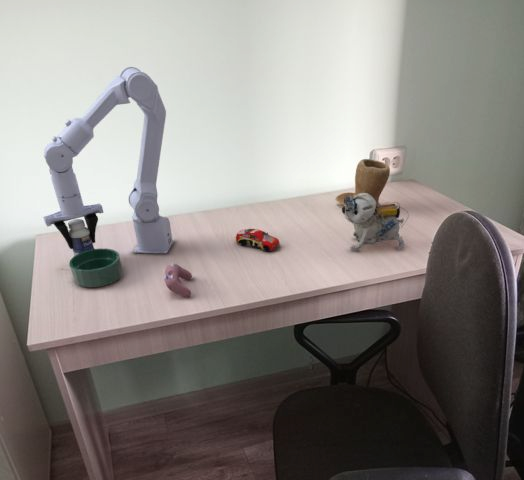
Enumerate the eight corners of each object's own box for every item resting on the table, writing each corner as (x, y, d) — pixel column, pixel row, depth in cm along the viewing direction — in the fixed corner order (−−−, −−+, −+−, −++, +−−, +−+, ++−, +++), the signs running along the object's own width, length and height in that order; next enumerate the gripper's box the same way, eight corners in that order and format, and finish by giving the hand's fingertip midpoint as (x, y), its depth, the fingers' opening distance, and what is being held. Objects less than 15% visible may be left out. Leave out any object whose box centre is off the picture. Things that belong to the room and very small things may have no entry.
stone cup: (392, 213, 153) (399, 164, 144) (360, 220, 150) (365, 170, 140) (364, 198, 164) (369, 151, 155) (334, 204, 161) (336, 157, 152)
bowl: (129, 266, 131) (126, 248, 128) (113, 289, 121) (108, 271, 118) (86, 265, 132) (81, 247, 129) (66, 288, 123) (60, 270, 119)
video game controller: (178, 284, 125) (162, 262, 121) (193, 275, 124) (177, 254, 120) (176, 304, 117) (159, 282, 113) (192, 296, 116) (175, 273, 112)
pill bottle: (89, 261, 131) (80, 226, 125) (71, 260, 132) (61, 225, 126) (99, 252, 135) (90, 218, 129) (81, 251, 136) (71, 217, 130)
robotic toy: (334, 238, 140) (337, 186, 131) (393, 234, 141) (401, 181, 132) (344, 259, 130) (348, 203, 121) (409, 254, 131) (418, 198, 122)
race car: (283, 246, 137) (283, 233, 135) (273, 254, 134) (273, 240, 131) (244, 236, 143) (243, 223, 141) (233, 243, 140) (232, 230, 137)
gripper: (91, 183, 129) (103, 232, 137) (34, 196, 123) (50, 246, 131) (100, 191, 124) (112, 241, 132) (41, 204, 118) (57, 256, 126)
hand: (82, 244), depth 131 cm, fingers closed on pill bottle, 5 cm apart
